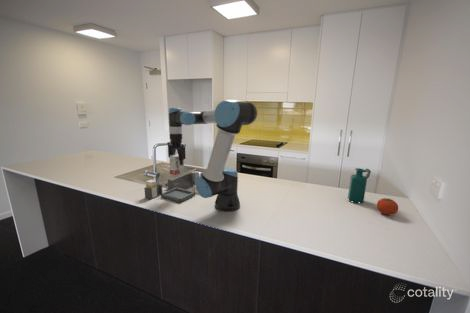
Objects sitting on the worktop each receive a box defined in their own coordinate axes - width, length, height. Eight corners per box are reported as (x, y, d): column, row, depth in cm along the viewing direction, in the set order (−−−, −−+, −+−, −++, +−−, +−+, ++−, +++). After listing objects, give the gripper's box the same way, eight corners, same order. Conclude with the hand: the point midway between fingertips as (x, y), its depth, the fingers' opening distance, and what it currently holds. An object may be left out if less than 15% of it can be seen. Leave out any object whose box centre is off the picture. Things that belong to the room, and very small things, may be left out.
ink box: (175, 175, 136) (174, 156, 133) (169, 174, 138) (168, 155, 136) (184, 171, 143) (184, 154, 140) (179, 170, 145) (178, 153, 143)
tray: (195, 195, 146) (195, 192, 145) (180, 203, 134) (180, 199, 133) (176, 190, 154) (176, 187, 153) (161, 197, 142) (160, 193, 141)
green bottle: (349, 202, 140) (353, 169, 136) (347, 197, 148) (351, 166, 143) (366, 204, 137) (371, 171, 132) (363, 199, 145) (368, 168, 140)
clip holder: (174, 189, 156) (173, 174, 154) (150, 199, 138) (149, 183, 136) (169, 188, 159) (168, 173, 156) (145, 198, 141) (143, 181, 138)
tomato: (371, 209, 130) (374, 194, 128) (388, 210, 130) (391, 194, 128) (382, 218, 120) (385, 201, 118) (401, 218, 120) (404, 201, 118)
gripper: (191, 133, 134) (191, 169, 139) (169, 131, 142) (171, 165, 147) (182, 134, 128) (183, 172, 133) (160, 132, 136) (162, 168, 141)
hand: (177, 169), depth 140 cm, fingers closed on ink box, 5 cm apart
